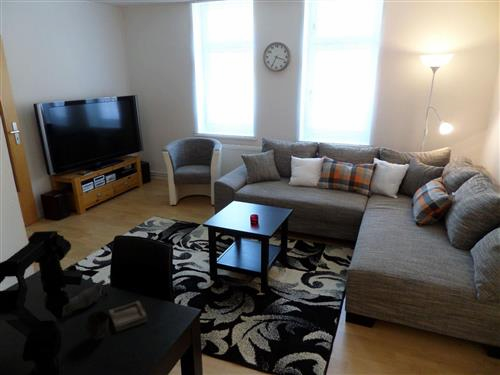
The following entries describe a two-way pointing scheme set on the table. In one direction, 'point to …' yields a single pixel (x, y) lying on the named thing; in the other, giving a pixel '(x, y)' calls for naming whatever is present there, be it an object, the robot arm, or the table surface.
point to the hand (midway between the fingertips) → (58, 311)
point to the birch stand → (128, 316)
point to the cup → (97, 324)
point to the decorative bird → (85, 298)
